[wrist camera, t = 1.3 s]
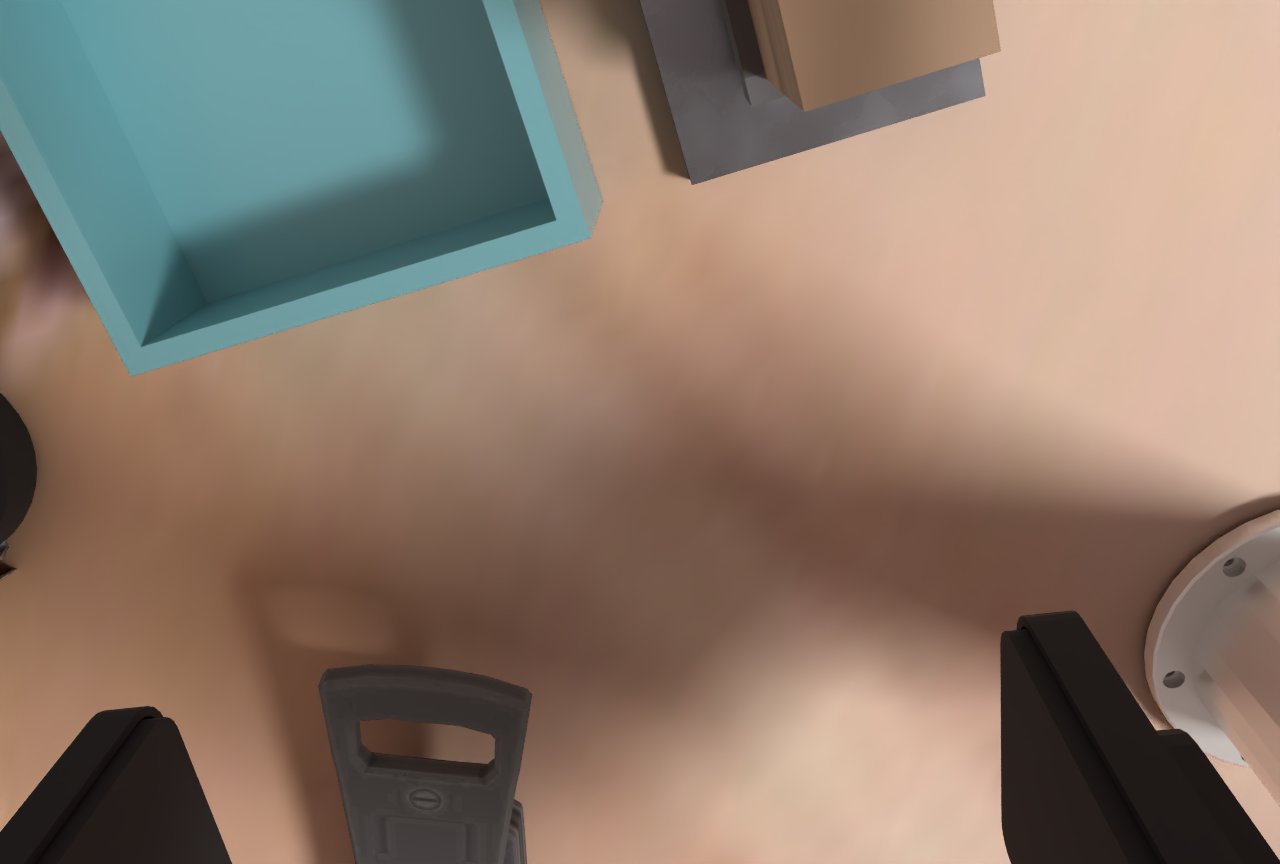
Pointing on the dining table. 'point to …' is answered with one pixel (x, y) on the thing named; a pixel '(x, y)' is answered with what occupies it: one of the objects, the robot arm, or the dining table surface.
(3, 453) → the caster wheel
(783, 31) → the strut
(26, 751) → the dining table surface
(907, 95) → the base
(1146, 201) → the dining table surface
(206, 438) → the dining table surface
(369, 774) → the zipper pull
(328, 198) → the bin
